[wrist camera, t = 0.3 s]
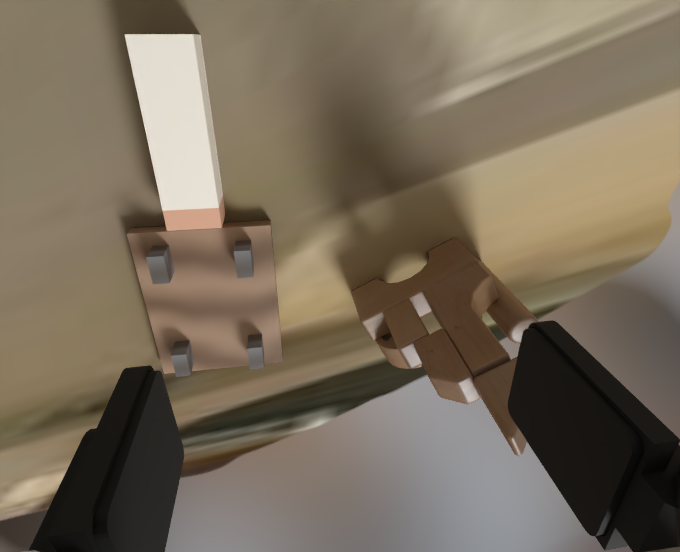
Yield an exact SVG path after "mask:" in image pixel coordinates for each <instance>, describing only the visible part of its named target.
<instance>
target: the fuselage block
mask: <svg viewBox="0 0 680 552" xmlns="http://www.w3.org/2000/svg"><path fill="white" fill-rule="evenodd" d="M125 39H126V43H127V48H128V53H129V57H130V62H131V67H132V71H133V76H134V80H135V85H136V90H137V94H138V99H139V104H140V108H141V113H142V117H143V122H144V127H145V131H146V136H147V141H148V145H149V150H150V155H151V159H152V164H153V168H154V173H155V178H156V182H157V187H158V192H159V196H160V201H161V206H162V210H163V215H164V219H165V224H166V229H167V231H176V230H194V229H211V228H222V225H223V221H224V217H225V206H224V199H223V192H222V185H221V178H220V171H219V164H218V157H217V149H216V142H215V135H214V128H213V121H212V114H211V107H210V100H209V93H208V86H207V79H206V72H205V64H204V57H203V50H202V43H201V36H200V35H197V34H125Z"/></svg>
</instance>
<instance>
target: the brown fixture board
mask: <svg viewBox="0 0 680 552" xmlns="http://www.w3.org/2000/svg"><path fill="white" fill-rule="evenodd" d="M127 237H128V241H129V245H130V248H131V252H132V256H133V260H134V263H135V267H136V271H137V274H138V278H139V282H140V286H141V289H142V293H143V297H144V301H145V304H146V308H147V312H148V315H149V319H150V323H151V327H152V330H153V334H154V338H155V341H156V345H157V349H158V353H159V356H160V360H161V364H162V368H163V371H164V374H167V373H175V374H176V377H178V376H188V375H191V372H192V371H197V370H207V369H218V368H228V367H238V366H248V365H250V369H258V368H264V364H268V363H278V362H283V354H282V343H281V332H280V321H279V310H278V299H277V287H276V276H275V265H274V254H273V243H272V232H271V221H270V220H262V221H245V222H227V223H223V225H222V228H211V229H194V230H176V231H167V229H166V226H158V227H140V228H131V229H130V230H129V231H128V233H127Z"/></svg>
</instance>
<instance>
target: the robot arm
mask: <svg viewBox="0 0 680 552" xmlns="http://www.w3.org/2000/svg"><path fill="white" fill-rule="evenodd" d="M508 411H509V414H510V416H511V418H512V419H513V421H514V422H515V424H516V425H517V427H518V428H519V430H520V431H521V433H522V434H523V436H524V437H525V439H526V440H527V442H528V443H529V445H530V447H531V448H532V450H533V451H534V453H535V454H536V456H537V457H538V459H539V460H540V462H541V463H542V465H543V466H544V468H545V469H546V471H547V472H548V474H549V476H550V477H551V478H552V480H553V482H554V483H555V484H556V486H557V488H558V489H559V491H560V492H561V494H562V495H563V497H564V498H565V500H566V501H567V503H568V505H569V506H570V508H571V509H572V511H573V512H574V514H575V515H576V517H577V518H578V520H579V521H580V523H581V524H582V526H583V527H584V529H585V530H586V531H587V533H589V534H590V535H591V536H595V537H596V538H597V539H598V541H599V543H600V544H601V546H602V547H603V549H604V550H609V549H615V548H621V547H626V546H627V545H628V546H629V547H630V548H631V550H632V551H633V552H680V446H679V445H678V444H679V442H680V439H679V438H678V437H677V436H676V435H675V434H674V433H673V432H672V431H670V430H669V429H668V428H667V427H666V426H665V425H664V424H663V423H662V422H661V421H660V420H659V419H658V418H657V417H656V416H655V415H654V414H653V413H652V412H651V411H649V410H648V409H647V408H646V407H645V406H644V405H643V404H642V403H641V402H640V401H639V400H638V399H637V398H636V397H635V396H634V395H633V394H632V393H631V392H629V390H627V389H626V388H625V387H624V386H623V385H622V384H621V383H620V382H619V381H618V380H617V379H616V378H615V377H614V376H613V375H612V374H611V373H610V372H609V371H608V370H606V369H605V368H604V367H603V366H602V365H601V364H600V363H599V362H598V361H597V360H596V359H595V358H594V357H593V356H592V355H591V354H590V353H589V352H587V350H586V349H584V348H583V347H582V346H581V345H580V344H579V343H578V342H577V341H576V340H575V339H574V338H573V337H572V336H571V335H570V334H569V333H568V332H567V331H565V330H564V329H563V328H562V327H561V326H560V325H559V324H558V323H557V322H555V321H544V322H534V323H531V324H530V325H529V327H528V329H525V330H524V331H523V334H522V339H521V343H520V348H519V352H518V357H517V362H516V366H515V371H514V376H513V380H512V385H511V389H510V394H509V399H508ZM183 460H184V450H183V444H182V441H181V438H180V434H179V431H178V427H177V424H176V420H175V417H174V414H173V410H172V407H171V403H170V400H169V397H168V393H167V390H166V386H165V383H164V379H163V376H162V373H161V372H160V371H154V370H153V368H152V367H151V366H141V367H132V368H126V369H124V370H123V372H122V374H121V376H120V378H119V380H118V383H117V385H116V387H115V389H114V391H113V394H112V396H111V398H110V400H109V402H108V405H107V407H106V409H105V411H104V413H103V416H102V418H101V420H100V422H99V424H98V427H97V428H96V429H90V430H89V431H87V432H86V434H85V435H84V437H83V438H82V440H81V442H80V445H79V447H78V449H77V451H76V453H75V455H74V457H73V459H72V461H71V463H70V465H69V468H68V470H67V472H66V474H65V476H64V478H63V480H62V482H61V484H60V486H59V488H58V491H57V493H56V495H55V497H54V499H53V501H52V503H51V505H50V507H49V509H48V511H47V514H46V516H45V518H44V520H43V522H42V524H41V526H40V528H39V530H38V533H37V535H36V537H35V539H34V541H33V543H32V545H31V547H30V549H29V551H21V552H165V547H166V542H167V537H168V533H169V528H170V522H171V518H172V513H173V508H174V504H175V499H176V494H177V489H178V485H179V480H180V475H181V470H182V465H183Z"/></svg>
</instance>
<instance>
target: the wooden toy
mask: <svg viewBox="0 0 680 552" xmlns="http://www.w3.org/2000/svg"><path fill="white" fill-rule="evenodd" d="M428 255H429V259H428V262H427V264H426V265H425V267H424V268H423V269H422V270H421V271H420V272H418V273H417V274H415V275H414V276H412V277H411V278H409V279H406V280H404V281H401V282H397V283H385V282H382V281H381V280H380V279H378V278H376V279H374V280H372V281H370V282H368V283H366V284H365V285H363V286H361V287H359V288H357V289H355V290H353V291H352V292H351V293H352V296H353V300H354V303H355V306H356V309H357V312H358V315H359V318H360V321H361V323H362V325H363V326H364V328H365V330H366V331H367V333H368V334H369V336H370V338H371V339H372V340H376V342H377V344H378V345H379V347H380V349H381V350H382V352H383V354H384V355H385V357H386V358H387V360H388V361H389V362H390V363H391V364H392V365H394V366H396V367H399V368H411V369H412V368H418V367H421V366H422V365H421V364H423V367H424V369H425V371H426V373H427V375H428V377H429V379H430V381H431V382H432V384H433V386H434V387H435V389H436V391H437V393H438V395H439V396H440V397H442V398H444V399H448V400H452V401H456V402H460V403H464V404H470V403H472V402H474V401H476V400H479V399H480V398H482V400H483V402H484V403H485V405H486V407H487V408H488V410H489V412H490V413H491V415H492V417H493V418H494V420H495V422H496V423H497V425H498V427H499V428H500V430H501V432H502V433H503V435H504V437H505V438H506V440H507V442H508V443H509V445H510V447H511V448H512V450H513V452H514V454H515V455H518V456H520V455H521V454H522V453H523V451H524V448H525V445H526V442H527V440H526V439H525V437H524V436H523V434H522V433H521V431H520V430H519V428H518V427H517V425H516V424H515V422H514V421H513V419H512V418H511V416H510V414H509V411H508V399H509V394H510V389H511V385H512V380H513V376H514V371H515V366H516V362H517V357H516V358H514V359H512V360H511V359H510V357H509V354H508V353H507V352H506V350H505V349H504V348H503V346H502V345H501V344H500V343H499V341H498V340H497V339H496V337H495V336H494V335H493V333H492V332H491V331H490V330H489V328H488V327H487V326H486V324H485V323H484V322H483V321H482V315H483V313H484V312H485V311H487V312H488V314H489V315H490V316H491V317H492V319H493V320H494V321H495V322H496V324H497V325H498V326H499V327H500V329H501V330H502V331H503V332H504V334H505V335H506V336H507V337H508V339H509V340H511V341H512V342H515V343H521V339H522V334H523V331H524V330H525V329H528V327H529V325H530V324H531V323H534V322H538V320H537V318H536V317H535V316H534V315H533V314H532V313H531V312H530V311H529V310H528V309H527V308H526V307H525V306H524V305H523V304H522V303H521V302H520V301H519V300H518V299H517V298H516V297H515V296H514V295H513V294H512V292H511V291H510V290H509V289H508V288H507V287H506V286H505V285H504V284H503V283H502V282H501V281H500V280H499V279H498V278H497V277H496V276H495V275H494V274H493V273H492V272H491V271H490V270H489V269H488V268H487V267H486V266H485V264H484V263H483V262H482V261H480V260H479V259H476V258H475V257H474V256H473V255H472V254H471V253H470V252H469V251H468V250H467V249H466V248H465V247H464V246H463V244H462V243H461V242H460V241H459V240H458V239H457V238H452V239H451V240H449V241H447V242H445V243H443V244H441V245H439V246H437V247H435V248H433V249H431V250H430V251H428ZM430 312H433V314H434V316H435V317H436V319H437V321H438V322H439V324H440V326H441V327H442V329H440V330H438V331H436V332H434V333H432V334H430V335H429V333H428V331H427V329H426V328H425V326H424V324H423V322H422V320H421V318H420V317H422V316H424V315H426V314H428V313H430Z"/></svg>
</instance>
